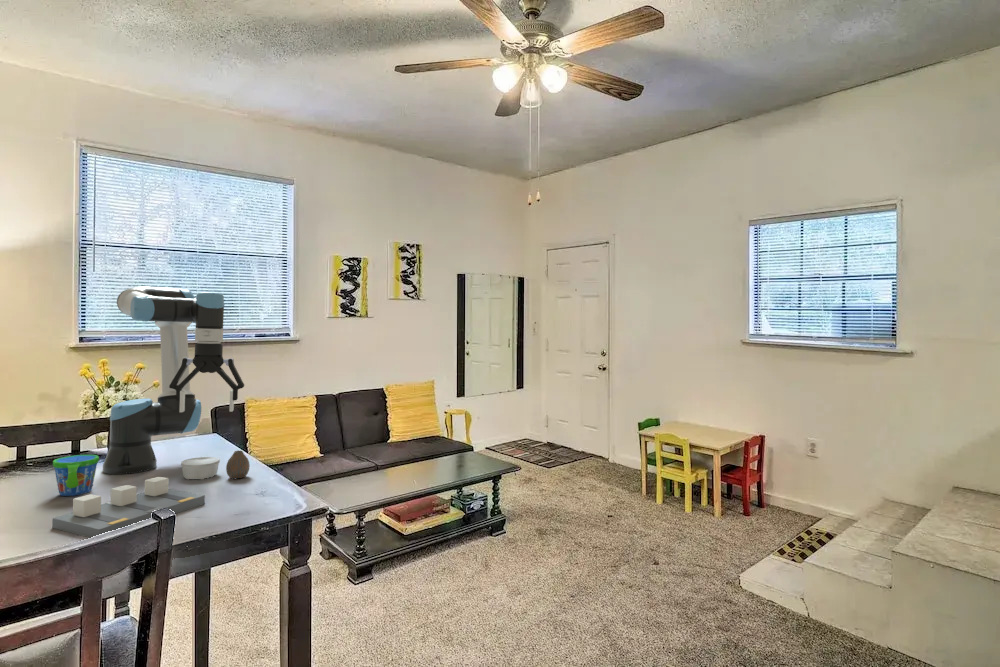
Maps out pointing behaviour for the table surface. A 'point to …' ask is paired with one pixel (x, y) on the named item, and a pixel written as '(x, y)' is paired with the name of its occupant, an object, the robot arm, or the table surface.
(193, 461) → the ramekin
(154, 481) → the knob far
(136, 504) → the switch panel
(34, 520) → the table surface
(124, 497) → the knob mid
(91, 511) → the knob near
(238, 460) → the vase
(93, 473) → the snack cup
